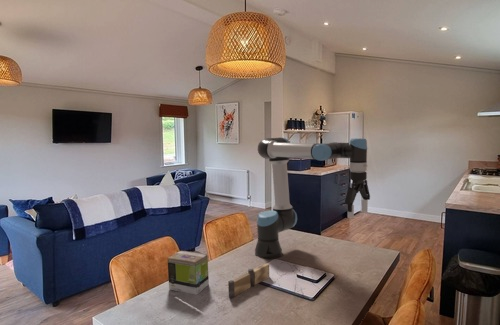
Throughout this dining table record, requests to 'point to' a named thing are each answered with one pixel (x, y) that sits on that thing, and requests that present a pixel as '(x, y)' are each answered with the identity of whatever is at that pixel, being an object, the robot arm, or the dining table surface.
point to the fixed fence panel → (239, 285)
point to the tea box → (188, 272)
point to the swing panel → (258, 274)
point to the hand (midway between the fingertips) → (357, 215)
